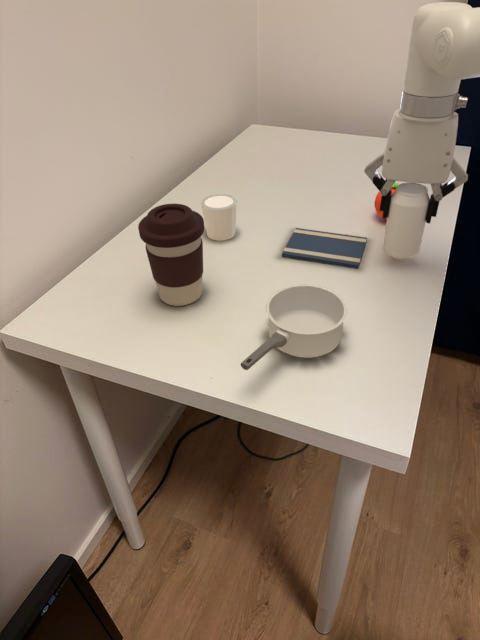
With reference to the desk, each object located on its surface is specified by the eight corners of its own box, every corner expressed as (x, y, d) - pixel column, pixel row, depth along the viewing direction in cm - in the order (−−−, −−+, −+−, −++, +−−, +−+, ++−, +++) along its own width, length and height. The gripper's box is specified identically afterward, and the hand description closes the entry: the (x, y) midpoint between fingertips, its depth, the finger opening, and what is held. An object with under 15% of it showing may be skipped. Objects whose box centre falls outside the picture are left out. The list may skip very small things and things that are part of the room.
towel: (366, 241, 93) (367, 237, 92) (358, 268, 85) (358, 264, 85) (295, 231, 97) (295, 227, 96) (281, 257, 89) (281, 252, 89)
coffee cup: (220, 299, 80) (214, 217, 70) (165, 319, 76) (150, 236, 67) (195, 271, 87) (186, 193, 77) (143, 288, 83) (127, 208, 74)
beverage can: (425, 257, 84) (440, 192, 77) (393, 264, 83) (405, 199, 75) (405, 241, 89) (417, 178, 81) (375, 247, 87) (384, 184, 80)
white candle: (229, 222, 101) (227, 190, 96) (244, 236, 96) (243, 204, 91) (198, 230, 98) (195, 198, 94) (212, 245, 93) (209, 212, 89)
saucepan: (212, 376, 67) (209, 346, 63) (293, 304, 78) (294, 275, 75) (281, 415, 61) (282, 385, 57) (357, 331, 73) (362, 301, 69)
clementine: (371, 207, 103) (376, 175, 99) (405, 209, 102) (412, 176, 98) (372, 225, 97) (377, 192, 93) (408, 227, 96) (415, 193, 92)
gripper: (491, 100, 71) (461, 213, 82) (370, 95, 76) (358, 202, 87) (493, 114, 65) (461, 234, 76) (363, 108, 70) (351, 221, 81)
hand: (406, 216), depth 81 cm, fingers closed on beverage can, 6 cm apart
